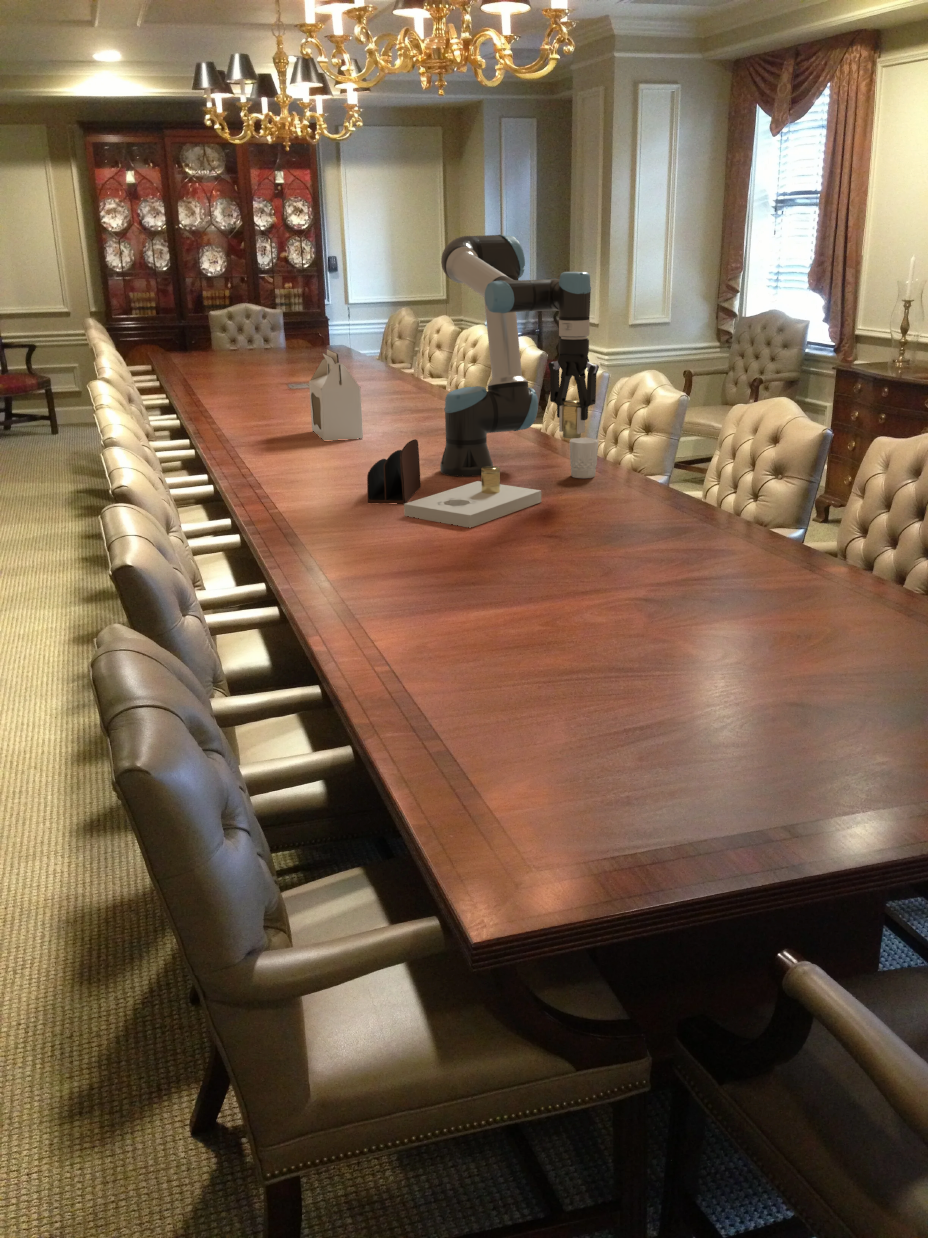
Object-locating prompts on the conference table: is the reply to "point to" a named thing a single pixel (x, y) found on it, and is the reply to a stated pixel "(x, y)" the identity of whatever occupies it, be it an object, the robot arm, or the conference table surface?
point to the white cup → (583, 457)
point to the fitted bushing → (490, 479)
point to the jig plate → (471, 504)
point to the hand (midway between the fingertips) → (572, 431)
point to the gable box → (335, 401)
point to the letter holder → (395, 476)
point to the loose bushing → (570, 419)
